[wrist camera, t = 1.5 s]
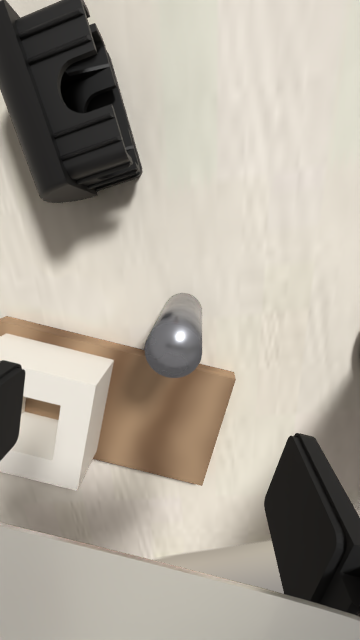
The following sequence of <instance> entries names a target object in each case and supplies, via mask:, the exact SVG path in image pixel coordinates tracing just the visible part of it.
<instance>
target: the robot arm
mask: <svg viewBox="0 0 360 640" xmlns="http://www.w3.org/2000/svg"><path fill="white" fill-rule="evenodd" d="M24 383H25V370H24V369H22V367H21V365H20V364H18V363H13V362H9V361H5V360H2V361H0V461H1V460H2V459H3V458H4V457H5V455H6V454H7V453H8V452H9V451H10V450H11V449H12V448H13V446H14V445H15V444H16V442H17V440H18V437H19V430H20V420H21V411H22V402H23V393H24ZM264 507H265V512H266V517H267V521H268V525H269V530H270V534H271V538H272V543H273V547H274V551H275V556H276V560H277V564H278V569H279V573H280V577H281V581H282V586H283V590H284V594H281V593H278V592H274V591H270V590H267V589H263V588H259V587H255V586H252V585H248V584H244V583H240V582H236V581H232V580H228V579H224V578H220V577H217V576H213V575H209V574H205V573H201V572H197V571H193V570H189V569H186V568H182V567H177V566H174V565H169V564H166V563H162V562H158V561H154V560H150V559H146V558H142V557H138V556H134V555H130V554H126V553H122V552H118V551H114V550H110V549H106V548H102V547H98V546H94V545H90V544H86V543H82V542H78V541H74V540H70V539H66V538H62V537H58V536H54V535H50V534H46V533H41V532H37V531H33V530H29V529H25V528H21V527H17V526H13V525H9V524H4V523H0V640H360V518H359V516H358V514H357V512H356V510H355V509H354V507H353V505H352V503H351V501H350V500H349V498H348V496H347V494H346V493H345V491H344V489H343V487H342V485H341V484H340V482H339V480H338V478H337V476H336V475H335V473H334V471H333V469H332V467H331V466H330V464H329V462H328V460H327V459H326V457H325V455H324V453H323V451H322V450H321V448H320V446H319V444H318V442H317V441H316V439H315V438H314V437H311V436H307V435H303V434H299V433H296V434H295V435H294V436H290V437H289V438H288V440H287V442H286V445H285V448H284V450H283V453H282V455H281V458H280V460H279V463H278V466H277V468H276V471H275V473H274V476H273V478H272V481H271V483H270V486H269V489H268V491H267V494H266V497H265V502H264Z"/></svg>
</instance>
